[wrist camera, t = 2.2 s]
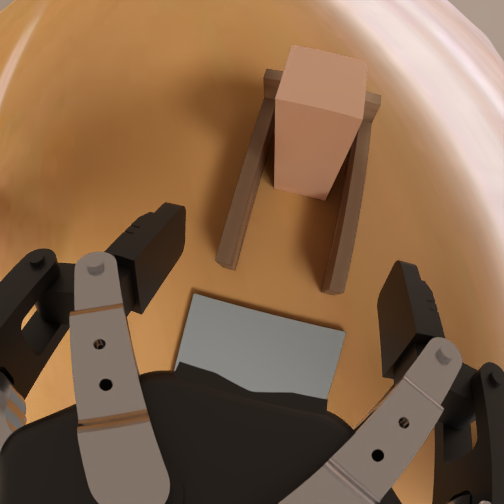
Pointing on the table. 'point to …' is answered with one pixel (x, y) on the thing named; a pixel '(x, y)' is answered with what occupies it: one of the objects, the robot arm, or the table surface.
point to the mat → (260, 348)
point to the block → (316, 119)
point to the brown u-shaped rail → (252, 176)
